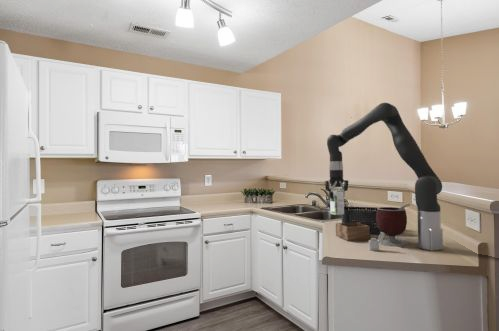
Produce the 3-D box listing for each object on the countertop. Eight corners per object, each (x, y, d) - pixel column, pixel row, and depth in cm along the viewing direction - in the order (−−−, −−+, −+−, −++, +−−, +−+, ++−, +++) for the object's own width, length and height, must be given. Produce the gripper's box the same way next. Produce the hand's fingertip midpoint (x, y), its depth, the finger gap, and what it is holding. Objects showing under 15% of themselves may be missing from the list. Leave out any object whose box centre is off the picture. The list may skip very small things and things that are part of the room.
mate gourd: (372, 243, 153) (371, 203, 153) (381, 238, 163) (381, 200, 164) (406, 248, 143) (405, 205, 143) (414, 243, 153) (413, 202, 154)
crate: (369, 239, 161) (369, 226, 161) (347, 241, 159) (347, 227, 159) (356, 234, 174) (356, 222, 174) (335, 236, 171) (335, 223, 171)
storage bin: (389, 228, 191) (389, 207, 192) (396, 235, 173) (395, 211, 173) (341, 227, 199) (341, 206, 199) (342, 233, 180) (342, 210, 180)
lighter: (370, 250, 140) (369, 232, 140) (368, 249, 142) (368, 232, 142) (385, 250, 141) (385, 232, 141) (383, 249, 142) (383, 231, 142)
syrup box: (330, 214, 180) (329, 189, 181) (338, 213, 182) (337, 188, 183) (336, 215, 175) (335, 189, 175) (344, 214, 177) (343, 189, 177)
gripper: (327, 169, 174) (328, 199, 174) (350, 169, 177) (351, 198, 177) (321, 169, 181) (322, 198, 181) (344, 169, 184) (345, 197, 184)
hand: (336, 198), depth 179 cm, fingers closed on syrup box, 6 cm apart
